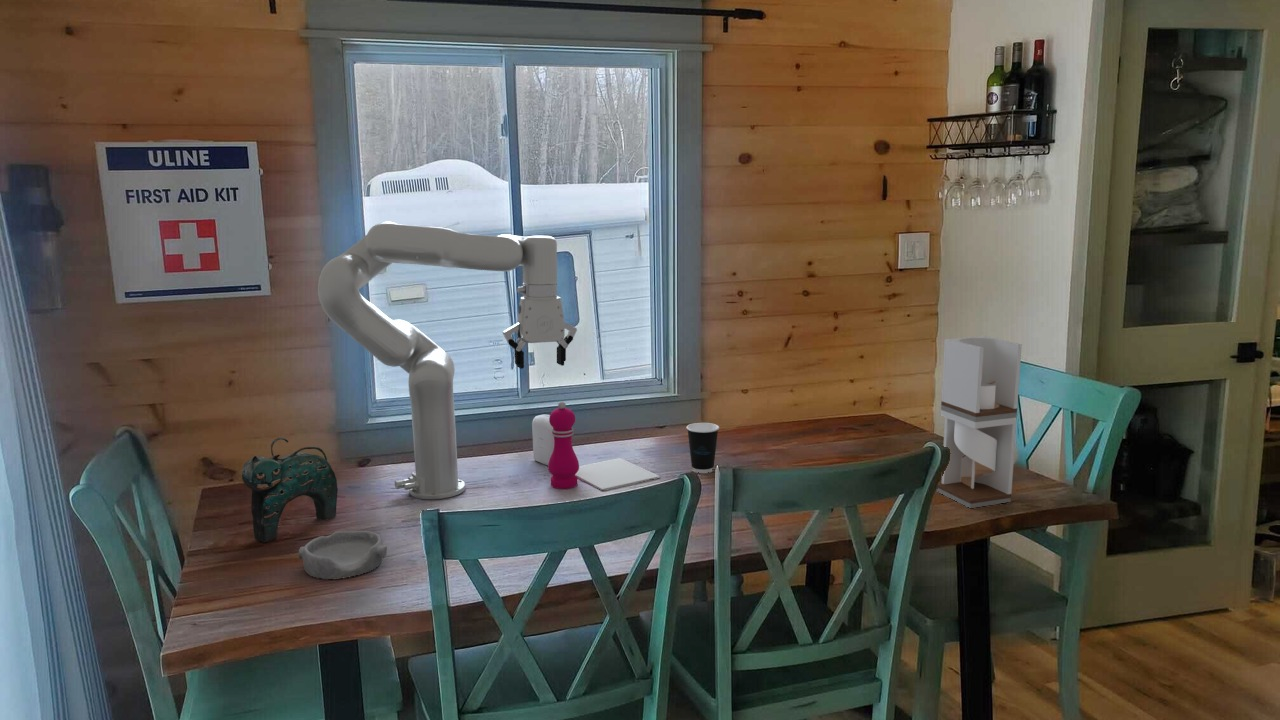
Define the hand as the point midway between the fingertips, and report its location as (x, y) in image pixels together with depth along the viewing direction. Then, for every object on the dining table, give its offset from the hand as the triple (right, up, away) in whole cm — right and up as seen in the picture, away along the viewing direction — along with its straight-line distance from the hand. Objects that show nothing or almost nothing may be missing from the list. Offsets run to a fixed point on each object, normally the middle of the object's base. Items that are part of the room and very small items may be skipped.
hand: (540, 366), depth 210 cm
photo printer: (0, -25, +22) cm, 33 cm away
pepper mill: (+5, -28, +5) cm, 29 cm away
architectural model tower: (+96, -29, -7) cm, 101 cm away
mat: (+16, -26, +12) cm, 33 cm away
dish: (-33, -37, -39) cm, 63 cm away
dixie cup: (+38, -26, +15) cm, 48 cm away
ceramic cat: (-49, -34, -20) cm, 62 cm away
